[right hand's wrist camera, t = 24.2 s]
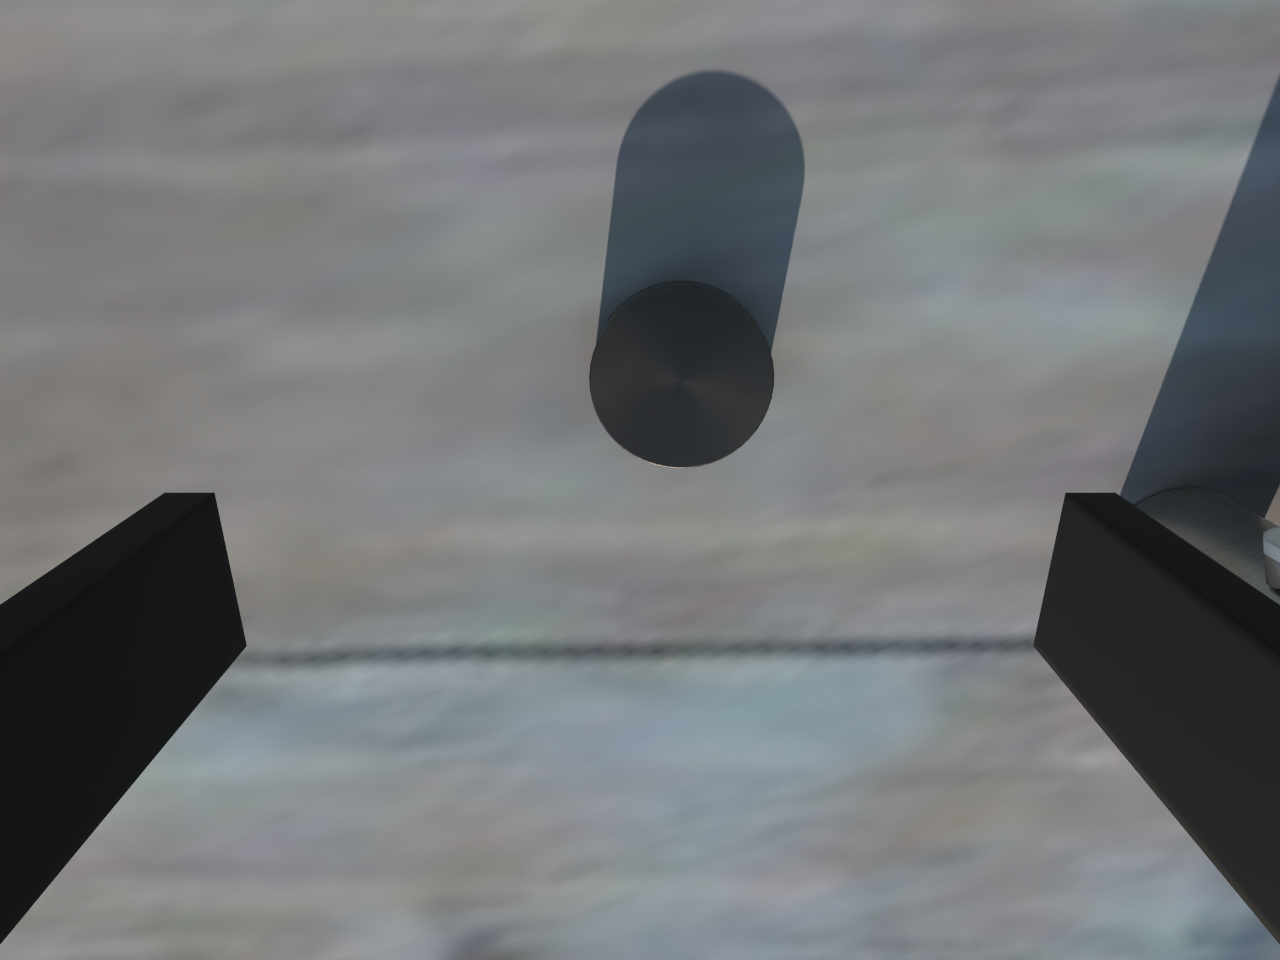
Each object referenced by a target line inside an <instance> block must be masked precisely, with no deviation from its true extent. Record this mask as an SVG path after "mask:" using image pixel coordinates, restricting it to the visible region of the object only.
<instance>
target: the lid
mask: <svg viewBox="0 0 1280 960" xmlns="http://www.w3.org/2000/svg"><path fill="white" fill-rule="evenodd" d="M589 379H590V392H591V397H592V402H593V405H594V408H595V411H596V413H597V415H598V418H599V420H600V422H601V423H602V425H603V426H604V428H605V429H606V431H607V432H608V434H609V435H610V436H611V437H612V438H613V439H614V441H616V442H617V443H618V444H619V445H620V446H621V447H622V448H623V449H625V450H626V451H628V452H629V453H631V454H632V455H634V456H636V457H638V458H640V459H641V460H644V461H646V462H649V463H652V464H655V465H659V466H663V467H671V468H691V467H698V466H702V465H706V464H710V463H713V462H715V461H718V460H720V459H722V458H724V457H726V456H728V455H730V454H731V453H733V452H734V451H735V450H737V449H738V448H740V447H741V446H742V445H743V444H744V443H745V442H746V441H747V440H748V439H749V438H750V437H751V436H752V435H753V434H754V432H755V431H756V430H757V429H758V427H759V425H760V424H761V422H762V421H763V419H764V417H765V415H766V412H767V410H768V408H769V405H770V401H771V398H772V393H773V387H774V368H773V361H772V356H771V352H770V349H769V346H768V344H767V341H766V339H765V337H764V335H763V334H762V332H761V330H760V328H759V327H758V325H757V323H756V322H755V320H754V319H753V317H752V316H751V315H750V313H749V312H748V311H747V310H746V309H745V308H744V307H743V306H742V305H741V304H740V303H739V302H738V301H737V300H735V299H734V298H733V297H732V296H730V295H729V294H727V293H725V292H723V291H721V290H720V289H717V288H715V287H712V286H710V285H706V284H702V283H698V282H690V281H672V282H666V283H661V284H657V285H654V286H651V287H649V288H646V289H644V290H642V291H640V292H638V293H637V294H635V295H633V296H632V297H630V298H629V299H628V300H626V301H625V302H624V303H623V304H622V305H620V307H619V308H618V309H617V310H616V311H615V312H614V313H613V314H612V316H611V317H610V318H609V320H608V321H607V323H606V325H605V326H604V328H603V330H602V332H601V334H600V337H599V339H598V342H597V344H596V347H595V350H594V353H593V356H592V361H591V365H590V376H589Z"/></svg>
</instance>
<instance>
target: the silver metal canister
mask: <svg viewBox="0 0 1280 960" xmlns="http://www.w3.org/2000/svg"><path fill="white" fill-rule="evenodd" d="M1135 507H1137V508H1138V509H1140V510H1141V511H1143V512H1144V513H1146V514H1147V515H1149V516H1150V517H1151V518H1153V519H1154V520H1156V521H1157V522H1159V523H1160V524H1162V525H1163V526H1165V527H1166V528H1168V529H1169V530H1171V531H1172V532H1174V533H1175V534H1176V535H1178V536H1179V537H1181V538H1182V539H1184V540H1185V541H1187V542H1188V543H1190V544H1191V545H1193V546H1194V547H1196V548H1197V549H1198V550H1200V551H1201V552H1203V553H1204V554H1206V555H1207V556H1209V557H1210V558H1212V559H1213V560H1215V561H1216V562H1218V563H1219V564H1221V565H1222V566H1223V567H1225V568H1226V569H1228V570H1229V571H1231V572H1232V573H1234V574H1235V575H1237V576H1238V577H1240V578H1241V579H1243V580H1244V581H1245V582H1247V583H1248V584H1250V585H1251V586H1253V587H1254V588H1256V589H1257V590H1259V591H1260V592H1262V593H1263V594H1265V595H1266V596H1268V597H1269V598H1270V599H1272V600H1273V601H1275V602H1276V603H1278V604H1279V605H1280V588H1279V589H1273V588H1272V587H1271V586H1269V585H1268V584H1267V583H1266V577H1265V559H1264V549H1263V533H1264V532H1265V531H1267V530H1269V529H1271V528H1275V527H1279V526H1277V525H1275V524H1273V523H1272V522H1270V521H1268V520H1266V519H1265V518H1263V517H1261V516H1260V515H1258V514H1256V513H1254V512H1253V511H1251V510H1249V509H1247V508H1246V507H1244V506H1242V505H1240V504H1239V503H1237V502H1235V501H1233V500H1232V499H1230V498H1228V497H1226V496H1225V495H1223V494H1221V493H1218V492H1215V491H1212V490H1208V489H1203V488H1180V489H1173V490H1169V491H1165V492H1162V493H1159V494H1156V495H1154V496H1151V497H1149V498H1147V499H1145V500H1143V501H1142V502H1140V503H1138V504H1137V505H1135Z"/></svg>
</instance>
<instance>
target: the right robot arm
mask: <svg viewBox="0 0 1280 960" xmlns="http://www.w3.org/2000/svg"><path fill="white" fill-rule="evenodd" d="M246 646H247V645H246V640H245V636H244V631H243V626H242V621H241V617H240V612H239V607H238V602H237V598H236V593H235V588H234V583H233V579H232V574H231V569H230V565H229V560H228V555H227V550H226V546H225V541H224V536H223V531H222V527H221V522H220V517H219V512H218V508H217V503H216V498H215V493H164V494H162V495H161V496H159V497H158V498H156V499H155V500H153V501H152V502H151V503H149V504H148V505H146V506H145V507H143V508H142V509H140V510H139V511H137V512H136V513H134V514H133V515H131V516H130V517H129V518H127V519H126V520H124V521H123V522H121V523H120V524H118V525H117V526H115V527H114V528H112V529H111V530H109V531H108V532H106V533H105V534H104V535H102V536H101V537H99V538H98V539H96V540H95V541H93V542H92V543H90V544H89V545H87V546H86V547H84V548H83V549H82V550H80V551H79V552H77V553H76V554H74V555H73V556H71V557H70V558H68V559H67V560H65V561H64V562H62V563H61V564H59V565H58V566H57V567H55V568H54V569H52V570H51V571H49V572H48V573H46V574H45V575H43V576H42V577H40V578H39V579H37V580H36V581H35V582H33V583H32V584H30V585H29V586H27V587H26V588H24V589H23V590H21V591H20V592H18V593H17V594H15V595H14V596H12V597H11V598H10V599H8V600H7V601H5V602H4V603H2V604H1V605H0V944H1V943H2V942H3V940H4V939H5V938H6V937H7V935H8V934H9V933H10V932H11V931H12V929H13V928H14V927H15V926H16V925H17V923H18V922H19V921H20V920H21V919H22V917H23V916H24V915H25V914H26V912H27V911H28V910H29V909H30V908H31V906H32V905H33V904H34V903H35V902H36V900H37V899H38V898H39V897H40V896H41V894H42V893H43V892H44V891H45V889H46V888H47V887H48V886H49V885H50V883H51V882H52V881H53V880H54V879H55V877H56V876H57V875H58V874H59V872H60V871H61V870H62V869H63V868H64V866H65V865H66V864H67V863H68V862H69V860H70V859H71V858H72V857H73V856H74V854H75V853H76V852H77V851H78V849H79V848H80V847H81V846H82V845H83V843H84V842H85V841H86V840H87V839H88V837H89V836H90V835H91V834H92V833H93V831H94V830H95V829H96V828H97V826H98V825H99V824H100V823H101V822H102V820H103V819H104V818H105V817H106V816H107V814H108V813H109V812H110V811H111V810H112V808H113V807H114V806H115V805H116V803H117V802H118V801H119V800H120V799H121V797H122V796H123V795H124V794H125V793H126V791H127V790H128V789H129V788H130V786H131V785H132V784H133V783H134V782H135V780H136V779H137V778H138V777H139V776H140V774H141V773H142V772H143V771H144V770H145V768H146V767H147V766H148V765H149V763H150V762H151V761H152V760H153V759H154V757H155V756H156V755H157V754H158V753H159V751H160V750H161V749H162V748H163V747H164V745H165V744H166V743H167V742H168V740H169V739H170V738H171V737H172V736H173V734H174V733H175V732H176V731H177V730H178V728H179V727H180V726H181V725H182V723H183V722H184V721H185V720H186V719H187V717H188V716H189V715H190V714H191V713H192V711H193V710H194V709H195V708H196V707H197V705H198V704H199V703H200V702H201V700H202V699H203V698H204V697H205V696H206V694H207V693H208V692H209V691H210V690H211V688H212V687H213V686H214V685H215V684H216V682H217V681H218V680H219V679H220V677H221V676H222V675H223V674H224V673H225V671H226V670H227V669H228V668H229V667H230V665H231V664H232V663H233V662H234V661H235V659H236V658H237V657H238V656H239V654H240V653H241V652H242V651H243V650H244V648H245V647H246ZM1033 646H1034V647H1035V648H1036V650H1037V651H1038V652H1039V653H1040V654H1041V656H1042V657H1043V658H1044V659H1045V661H1046V662H1047V663H1048V664H1049V665H1050V667H1051V668H1052V669H1053V670H1054V671H1055V673H1056V674H1057V675H1058V676H1059V677H1060V679H1061V680H1062V681H1063V682H1064V684H1065V685H1066V686H1067V687H1068V688H1069V690H1070V691H1071V692H1072V693H1073V694H1074V696H1075V697H1076V698H1077V699H1078V700H1079V702H1080V703H1081V704H1082V705H1083V707H1084V708H1085V709H1086V710H1087V711H1088V713H1089V714H1090V715H1091V716H1092V717H1093V719H1094V720H1095V721H1096V722H1097V724H1098V725H1099V726H1100V727H1101V728H1102V730H1103V731H1104V732H1105V733H1106V734H1107V736H1108V737H1109V738H1110V739H1111V740H1112V742H1113V743H1114V744H1115V745H1116V747H1117V748H1118V749H1119V750H1120V751H1121V753H1122V754H1123V755H1124V756H1125V757H1126V759H1127V760H1128V761H1129V762H1130V763H1131V765H1132V766H1133V767H1134V768H1135V770H1136V771H1137V772H1138V773H1139V774H1140V776H1141V777H1142V778H1143V779H1144V780H1145V782H1146V783H1147V784H1148V785H1149V786H1150V788H1151V789H1152V790H1153V791H1154V793H1155V794H1156V795H1157V796H1158V797H1159V799H1160V800H1161V801H1162V802H1163V803H1164V805H1165V806H1166V807H1167V808H1168V810H1169V811H1170V812H1171V813H1172V814H1173V816H1174V817H1175V818H1176V819H1177V820H1178V822H1179V823H1180V824H1181V825H1182V826H1183V828H1184V829H1185V830H1186V831H1187V833H1188V834H1189V835H1190V836H1191V837H1192V839H1193V840H1194V841H1195V842H1196V843H1197V845H1198V846H1199V847H1200V848H1201V849H1202V851H1203V852H1204V853H1205V854H1206V856H1207V857H1208V858H1209V859H1210V860H1211V862H1212V863H1213V864H1214V865H1215V866H1216V868H1217V869H1218V870H1219V871H1220V873H1221V874H1222V875H1223V876H1224V877H1225V879H1226V880H1227V881H1228V882H1229V883H1230V885H1231V886H1232V887H1233V888H1234V889H1235V891H1236V892H1237V893H1238V894H1239V896H1240V897H1241V898H1242V899H1243V900H1244V902H1245V903H1246V904H1247V905H1248V906H1249V908H1250V909H1251V910H1252V911H1253V912H1254V914H1255V915H1256V916H1257V917H1258V919H1259V920H1260V921H1261V922H1262V923H1263V925H1264V926H1265V927H1266V928H1267V929H1268V931H1269V932H1270V933H1271V934H1272V935H1273V937H1274V938H1275V939H1276V940H1277V942H1278V943H1279V944H1280V605H1279V604H1278V603H1276V602H1275V601H1273V600H1272V599H1270V598H1269V597H1268V596H1266V595H1265V594H1263V593H1262V592H1260V591H1259V590H1257V589H1256V588H1254V587H1253V586H1251V585H1250V584H1248V583H1247V582H1245V581H1244V580H1243V579H1241V578H1240V577H1238V576H1237V575H1235V574H1234V573H1232V572H1231V571H1229V570H1228V569H1226V568H1225V567H1223V566H1222V565H1221V564H1219V563H1218V562H1216V561H1215V560H1213V559H1212V558H1210V557H1209V556H1207V555H1206V554H1204V553H1203V552H1201V551H1200V550H1198V549H1197V548H1196V547H1194V546H1193V545H1191V544H1190V543H1188V542H1187V541H1185V540H1184V539H1182V538H1181V537H1179V536H1178V535H1176V534H1175V533H1174V532H1172V531H1171V530H1169V529H1168V528H1166V527H1165V526H1163V525H1162V524H1160V523H1159V522H1157V521H1156V520H1154V519H1153V518H1151V517H1150V516H1149V515H1147V514H1146V513H1144V512H1143V511H1141V510H1140V509H1138V508H1137V507H1135V506H1134V505H1132V504H1131V503H1129V502H1128V501H1126V500H1125V499H1124V498H1122V497H1121V496H1119V495H1118V494H1116V493H1065V498H1064V503H1063V508H1062V512H1061V517H1060V522H1059V527H1058V531H1057V536H1056V541H1055V546H1054V550H1053V555H1052V560H1051V564H1050V569H1049V574H1048V579H1047V583H1046V588H1045V593H1044V598H1043V602H1042V607H1041V612H1040V617H1039V621H1038V626H1037V631H1036V636H1035V640H1034V645H1033Z"/></svg>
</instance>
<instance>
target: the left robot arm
mask: <svg viewBox="0 0 1280 960" xmlns="http://www.w3.org/2000/svg"><path fill="white" fill-rule="evenodd" d="M1263 549H1264V559H1265V577H1266V583H1267V584H1268V585H1269V586H1271V587H1272V588H1273V589H1279V588H1280V526H1279V527H1275V528H1271V529H1269V530H1267V531H1265V532H1264V533H1263Z"/></svg>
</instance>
